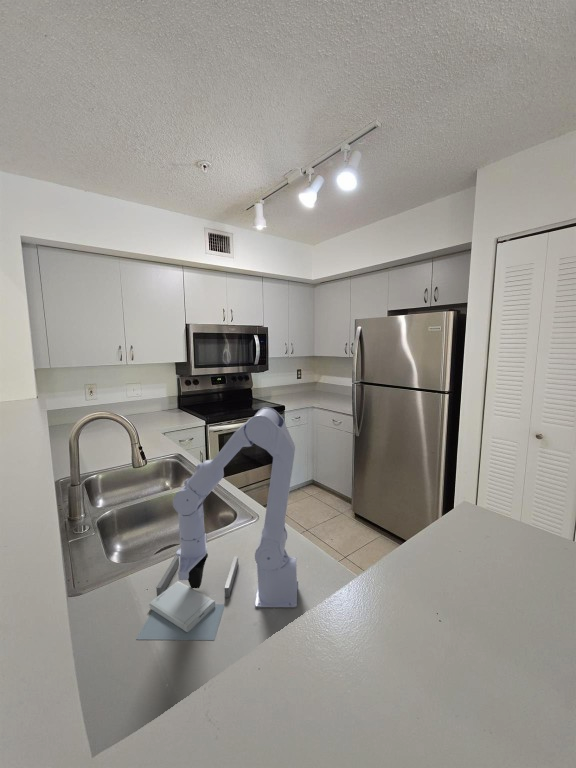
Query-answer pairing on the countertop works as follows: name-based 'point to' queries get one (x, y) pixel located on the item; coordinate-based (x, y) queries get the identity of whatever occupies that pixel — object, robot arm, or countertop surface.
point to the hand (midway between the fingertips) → (195, 586)
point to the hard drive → (182, 605)
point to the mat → (167, 630)
